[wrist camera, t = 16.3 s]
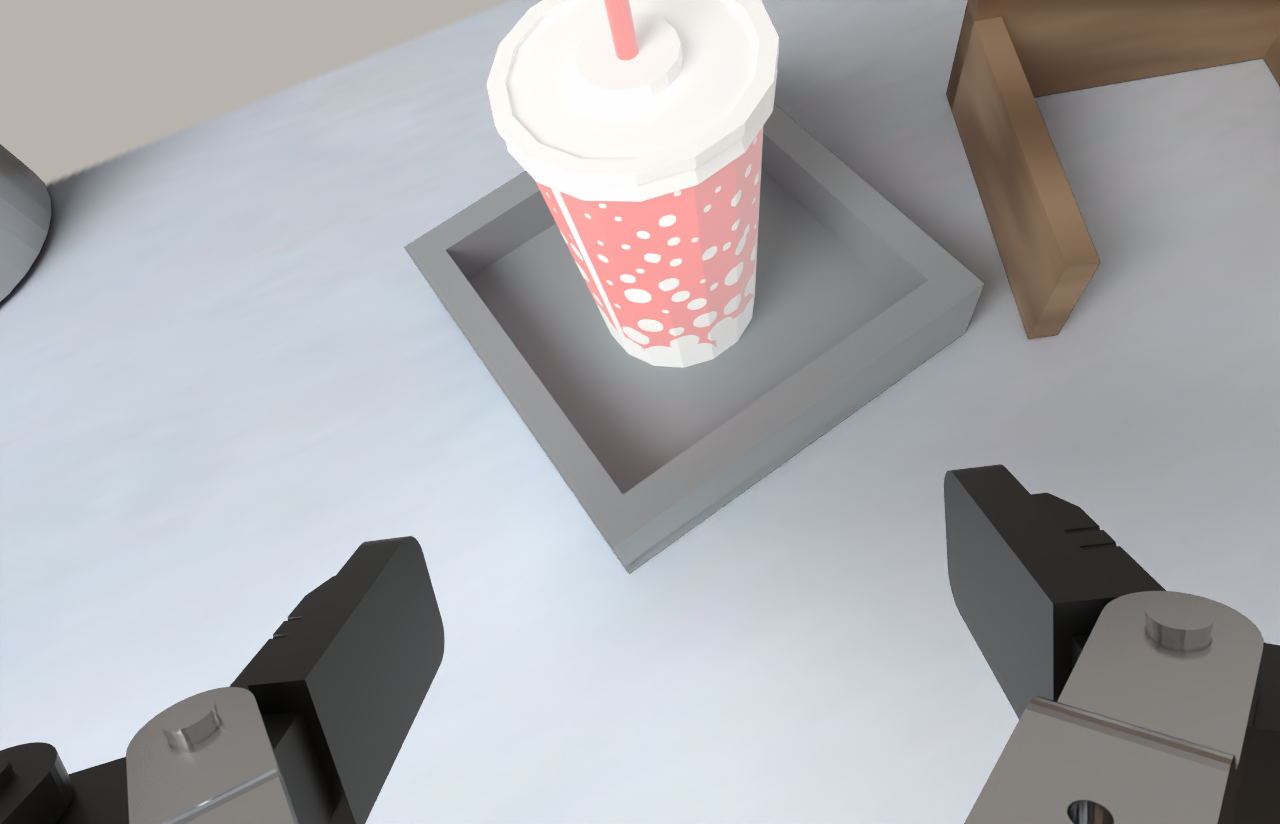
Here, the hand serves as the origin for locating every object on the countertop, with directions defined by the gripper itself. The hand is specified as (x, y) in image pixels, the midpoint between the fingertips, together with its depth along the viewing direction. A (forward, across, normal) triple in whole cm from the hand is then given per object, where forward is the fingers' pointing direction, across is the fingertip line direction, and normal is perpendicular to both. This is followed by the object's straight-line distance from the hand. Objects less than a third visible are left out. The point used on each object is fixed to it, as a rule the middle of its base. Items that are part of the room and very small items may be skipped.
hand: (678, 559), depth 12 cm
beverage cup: (+14, 0, -1) cm, 14 cm away
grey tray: (+14, 0, -1) cm, 14 cm away
